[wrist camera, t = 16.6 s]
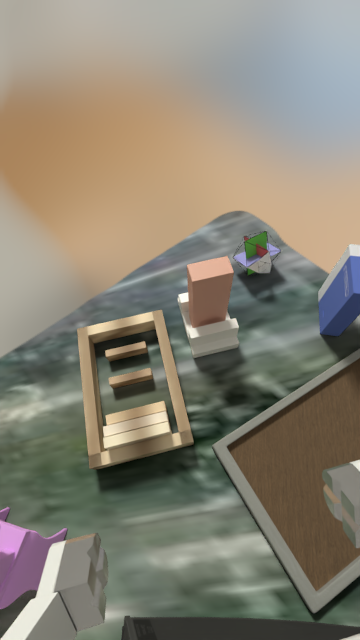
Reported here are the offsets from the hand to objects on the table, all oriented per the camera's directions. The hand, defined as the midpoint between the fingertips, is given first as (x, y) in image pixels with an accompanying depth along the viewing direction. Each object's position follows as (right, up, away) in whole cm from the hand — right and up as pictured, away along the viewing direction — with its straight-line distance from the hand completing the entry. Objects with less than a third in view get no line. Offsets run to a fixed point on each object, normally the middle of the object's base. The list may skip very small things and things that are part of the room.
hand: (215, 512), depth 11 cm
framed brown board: (+21, -10, +30) cm, 38 cm away
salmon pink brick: (+3, +7, +37) cm, 38 cm away
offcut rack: (-8, -3, +34) cm, 35 cm away
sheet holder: (+3, +6, +39) cm, 39 cm away
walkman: (+22, +8, +39) cm, 45 cm away
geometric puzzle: (+12, +16, +44) cm, 48 cm away
